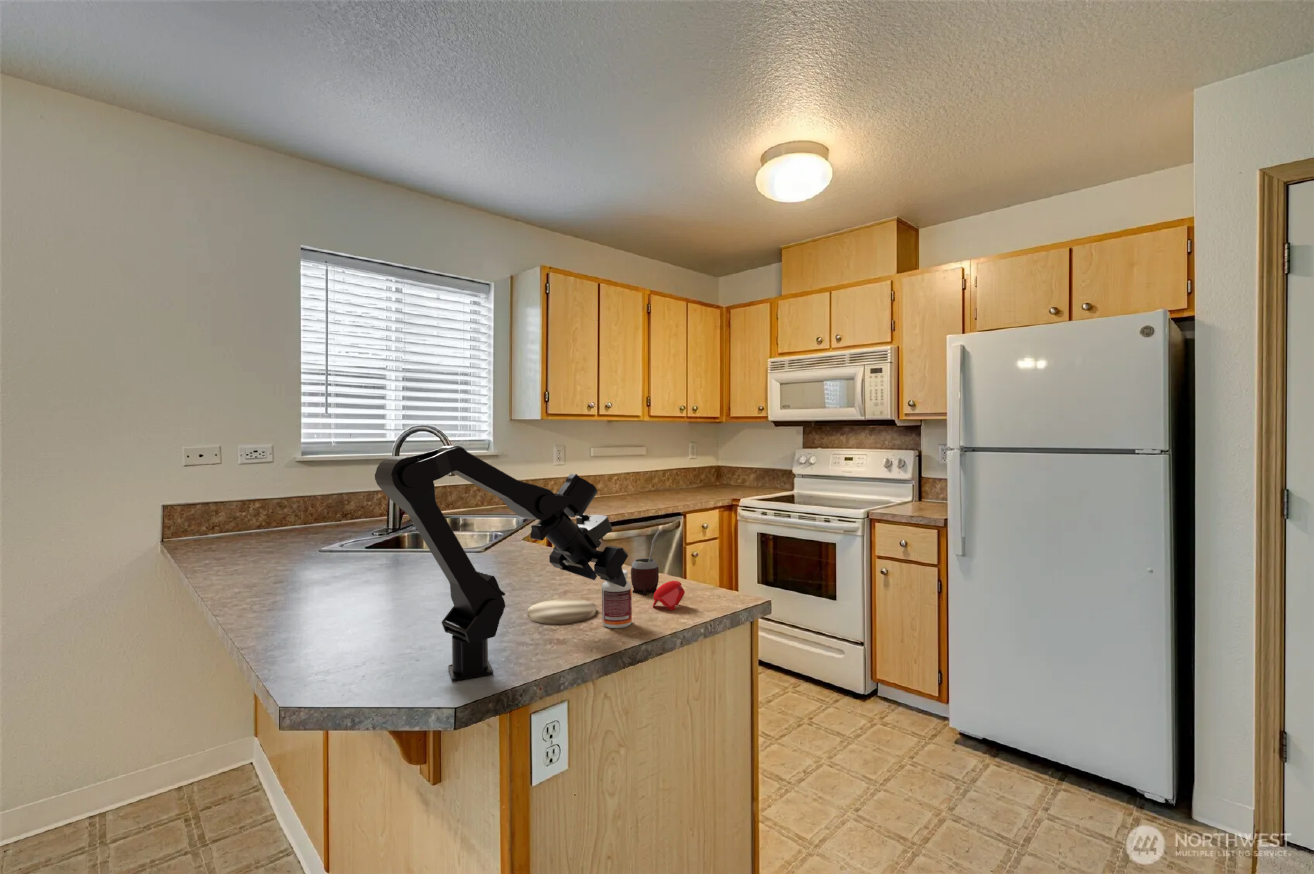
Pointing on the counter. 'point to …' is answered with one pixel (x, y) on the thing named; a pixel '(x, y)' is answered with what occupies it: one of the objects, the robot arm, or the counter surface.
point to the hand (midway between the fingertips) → (609, 581)
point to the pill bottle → (616, 604)
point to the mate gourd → (645, 573)
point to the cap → (669, 594)
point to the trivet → (561, 611)
